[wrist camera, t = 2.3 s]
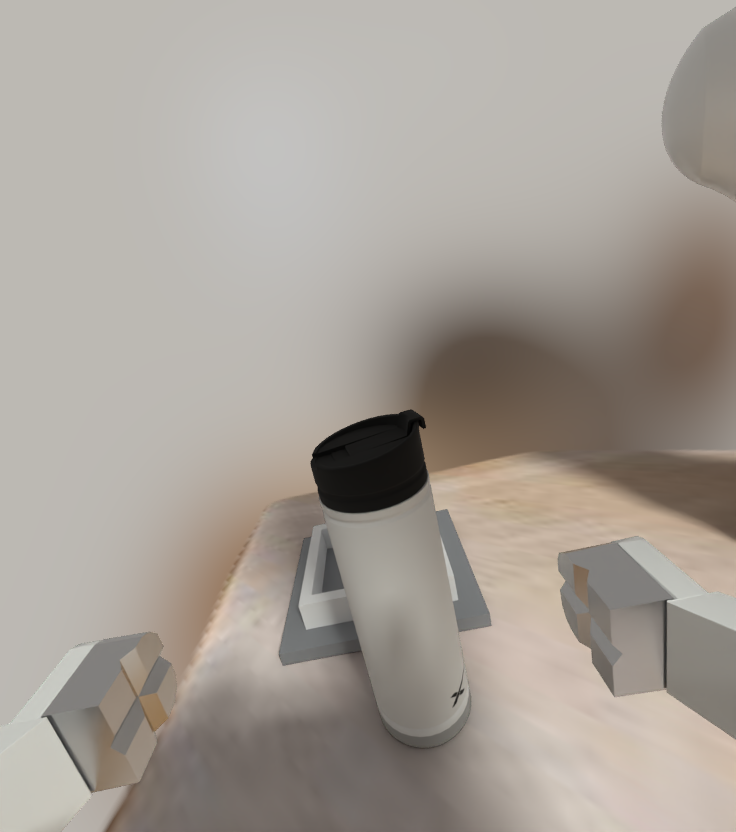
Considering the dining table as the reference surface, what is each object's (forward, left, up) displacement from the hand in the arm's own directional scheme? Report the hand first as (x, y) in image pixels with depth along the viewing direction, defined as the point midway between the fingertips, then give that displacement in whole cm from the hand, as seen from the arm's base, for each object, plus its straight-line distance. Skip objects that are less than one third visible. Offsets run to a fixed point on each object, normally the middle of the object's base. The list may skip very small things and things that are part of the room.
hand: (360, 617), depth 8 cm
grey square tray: (+2, -27, -21) cm, 34 cm away
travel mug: (0, -14, -21) cm, 26 cm away
